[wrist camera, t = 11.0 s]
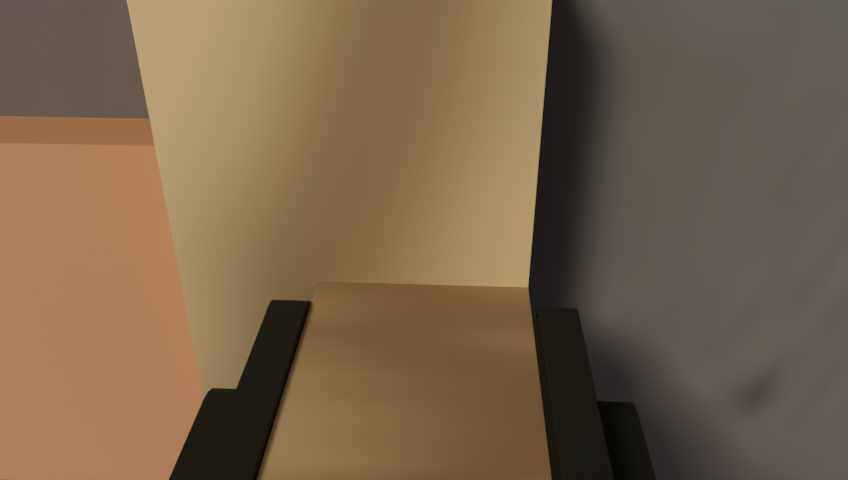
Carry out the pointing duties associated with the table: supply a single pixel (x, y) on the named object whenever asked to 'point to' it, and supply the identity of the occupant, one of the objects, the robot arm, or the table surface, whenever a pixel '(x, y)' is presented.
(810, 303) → the table surface
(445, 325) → the tan l-shaped bookend
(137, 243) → the tile
